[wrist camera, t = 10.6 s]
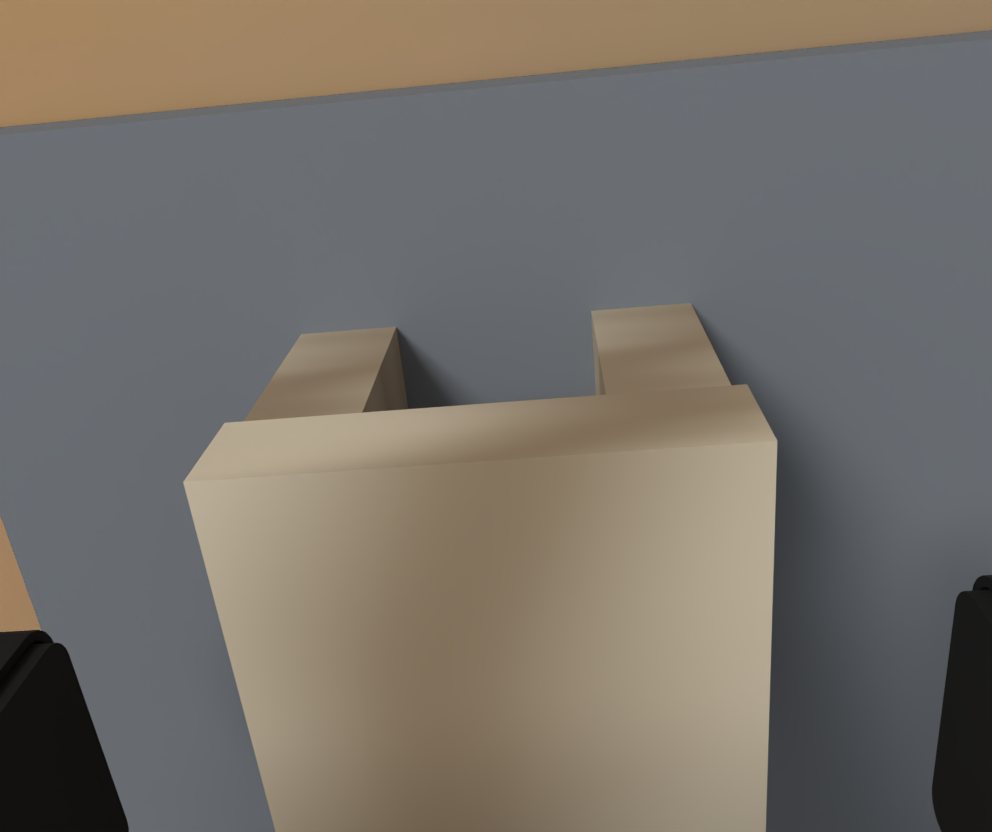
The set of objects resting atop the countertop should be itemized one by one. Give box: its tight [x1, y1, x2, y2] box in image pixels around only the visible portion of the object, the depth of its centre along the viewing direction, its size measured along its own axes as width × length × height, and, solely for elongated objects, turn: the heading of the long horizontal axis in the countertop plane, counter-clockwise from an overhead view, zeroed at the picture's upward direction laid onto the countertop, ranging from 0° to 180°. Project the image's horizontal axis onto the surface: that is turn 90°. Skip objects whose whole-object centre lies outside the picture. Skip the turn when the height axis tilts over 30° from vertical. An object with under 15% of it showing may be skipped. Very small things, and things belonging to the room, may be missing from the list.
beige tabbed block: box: [183, 303, 777, 832], centre depth 11 cm, size 5×7×4 cm
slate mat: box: [0, 30, 992, 832], centre depth 13 cm, size 12×14×1 cm
